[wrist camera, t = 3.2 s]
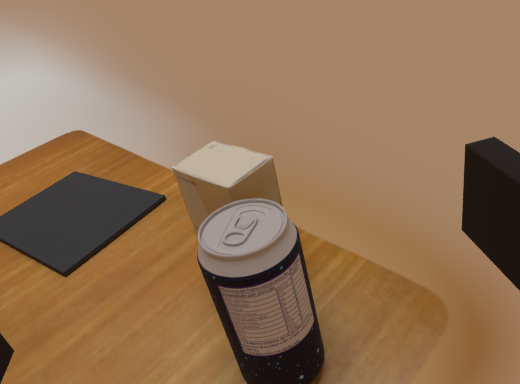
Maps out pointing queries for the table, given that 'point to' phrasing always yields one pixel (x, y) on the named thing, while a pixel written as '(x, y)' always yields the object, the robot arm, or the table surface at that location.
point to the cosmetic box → (224, 179)
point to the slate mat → (74, 219)
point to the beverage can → (262, 291)
